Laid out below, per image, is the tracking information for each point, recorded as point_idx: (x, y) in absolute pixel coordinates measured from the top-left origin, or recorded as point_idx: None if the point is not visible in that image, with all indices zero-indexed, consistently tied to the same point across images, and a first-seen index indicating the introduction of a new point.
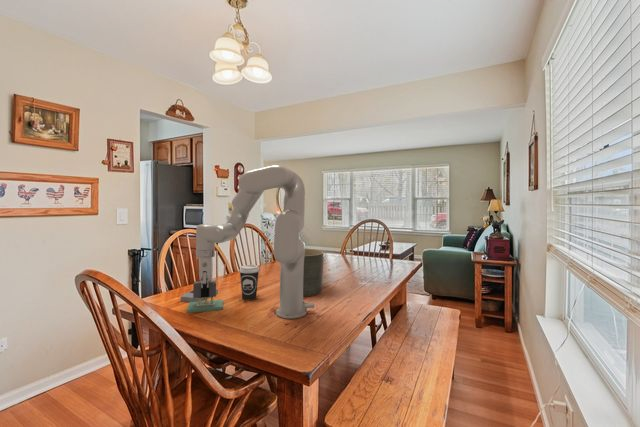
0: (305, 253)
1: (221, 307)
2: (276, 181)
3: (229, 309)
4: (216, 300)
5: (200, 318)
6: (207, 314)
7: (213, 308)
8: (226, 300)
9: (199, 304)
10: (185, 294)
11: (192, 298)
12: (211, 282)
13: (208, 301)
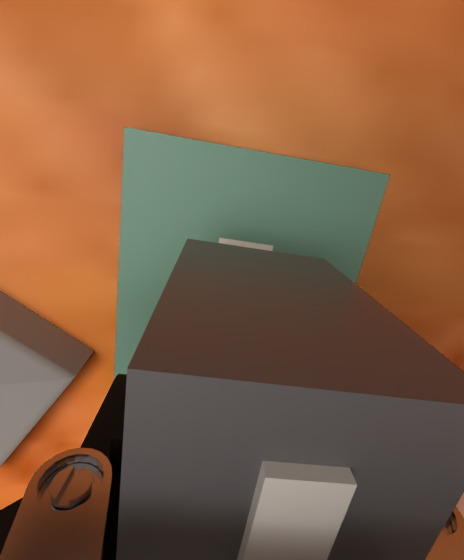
0: None
1: (383, 188)
2: None
3: (406, 104)
4: (139, 207)
5: (459, 360)
6: (411, 311)
7: (358, 264)
8: (80, 73)
9: None
10: None
11: (38, 419)
12: (372, 524)
13: (146, 289)
